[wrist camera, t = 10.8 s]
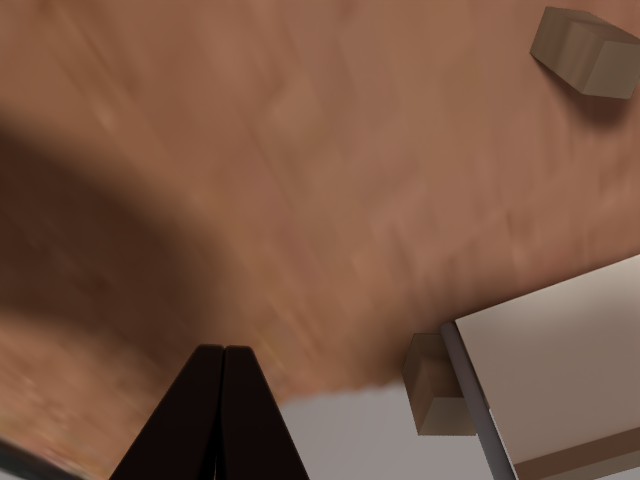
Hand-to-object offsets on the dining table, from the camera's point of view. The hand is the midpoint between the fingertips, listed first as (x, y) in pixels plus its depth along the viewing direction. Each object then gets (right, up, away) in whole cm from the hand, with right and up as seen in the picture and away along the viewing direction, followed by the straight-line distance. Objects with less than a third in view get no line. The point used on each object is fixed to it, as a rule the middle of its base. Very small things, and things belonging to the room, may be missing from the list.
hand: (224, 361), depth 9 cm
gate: (+14, 0, +18) cm, 23 cm away
